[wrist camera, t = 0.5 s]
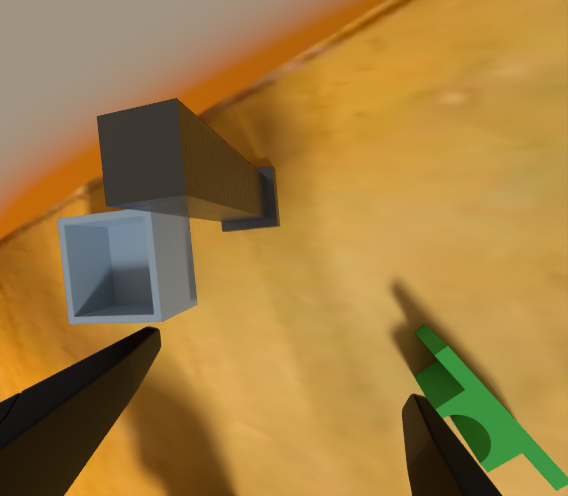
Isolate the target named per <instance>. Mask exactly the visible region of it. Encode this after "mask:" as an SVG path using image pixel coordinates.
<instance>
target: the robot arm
mask: <svg viewBox="0 0 568 496" xmlns="http://www.w3.org/2000/svg"><path fill="white" fill-rule="evenodd" d="M160 348H161V337H160V330H159V329H158V328H154V327H150V326H148V327H145V328H143V329H141V330H139V331H137V332H135V333H133V334H131V335H130V336H128V337H126V338H124V339H122V340H120V341H118V342H116V343H114V344H112V345H110V346H108V347H106V348H104V349H103V350H101V351H99V352H97V353H95V354H93V355H91V356H89V357H87V358H85V359H83V360H81V361H79V362H77V363H76V364H74V365H72V366H70V367H68V368H66V369H64V370H62V371H60V372H58V373H56V374H54V375H52V376H50V377H49V378H47V379H45V380H43V381H41V382H39V383H37V384H35V385H33V386H31V387H29V388H27V389H25V390H23V391H22V392H21V393H17V394H16V395H14V396H12V397H10V398H8V399H6V400H4V401H2V402H0V496H64V495H65V494H66V492H67V491H68V489H69V488H70V486H71V485H72V484H73V482H74V481H75V479H76V478H77V476H78V475H79V473H80V472H81V471H82V469H83V468H84V466H85V465H86V463H87V462H88V461H89V459H90V458H91V456H92V455H93V453H94V452H95V450H96V449H97V448H98V446H99V445H100V443H101V442H102V440H103V439H104V437H105V436H106V435H107V433H108V432H109V430H110V429H111V427H112V426H113V425H114V423H115V422H116V420H117V419H118V417H119V416H120V414H121V413H122V412H123V410H124V409H125V407H126V406H127V404H128V403H129V402H130V400H131V399H132V397H133V396H134V394H135V393H136V391H137V389H138V388H139V386H140V384H141V383H142V381H143V379H144V377H145V375H146V374H147V372H148V370H149V368H150V367H151V365H152V363H153V361H154V360H155V358H156V356H157V354H158V352H159V351H160ZM402 421H403V431H404V442H405V452H406V462H407V470H408V476H409V481H410V486H411V491H412V496H502V494H501V493H500V492H499V491H498V489H497V488H496V487H495V485H494V484H493V483H492V482H491V480H490V479H489V478H488V476H487V475H486V474H485V473H484V471H483V470H482V469H481V467H480V466H479V465H478V464H477V462H476V461H475V460H474V458H473V457H472V456H471V455H470V453H469V452H468V451H467V449H466V448H465V447H464V445H463V444H462V443H461V442H460V440H459V439H458V438H457V436H456V435H455V434H454V433H453V431H452V430H451V429H450V427H449V426H448V425H447V424H446V422H445V421H444V420H443V418H442V417H441V416H440V415H439V413H438V412H437V411H436V409H435V408H434V407H433V406H432V404H431V403H430V402H429V400H428V399H427V398H426V397H424V396H421V395H417V394H411V395H410V397H409V398H408V400H407V402H406V403H405V405H404V407H403V409H402Z"/></svg>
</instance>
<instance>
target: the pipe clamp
mask: <svg viewBox="0 0 568 496" xmlns="http://www.w3.org/2000/svg"><path fill="white" fill-rule="evenodd" d="M415 333H416V334H417V335H418V337H419V338H420V339H421V340H422V341H423V342H424V344H425V345H426V346H427V347H428V348H429V350H430V351H431V352H432V353H433V354H434V355H435V357H436V358H437V359H438V361H436V362H435V363H433V364H432V365H430V366H429V367H427V368H426V369H425V370H423V371H422V372H420V373H419V374H417V375H416V376H414V377H415V379H416V381H417V382H418V384H419V386H420V388H421V389H422V391H423V393H424V395H425V396H426V398H427V399H428V400H429V402H430V403H431V404H432V406H433V407H434V408H435V409H436V411H437V412H438V413H439V415H440V416H441V417H442V418H444V417H447V416H450V415H455V416H454V417H452V418H451V419H452V421H453V422H454V424H455V425H456V427H457V428H458V430H459V432H460V433H461V435H462V436H463V438H464V439H465V441H466V442H467V444H468V446H469V447H470V449H471V450H472V452H473V453H474V455H475V456H476V458H477V460H478V461H479V463H480V464H481V465H482V466H483V467H484V469H485V470H486V471H487V472H490V471H491V470H493V469H495V468H497V467H498V466H500V465H502V464H504V463H505V462H507V461H509V460H511V459H512V458H514V457H516V456H518V455H519V454H521V453H523V454H524V455H525V457H526V458H527V459H528V460H529V461H530V462H531V463H532V464H533V465H534V467H535V468H536V469H537V470H538V471H539V472H540V473H541V474H542V475H543V477H544V478H545V479H546V480H547V481H548V482H549V483H550V484H551V485H552V487H553V488H554V489H555V490H556V491H557V490H559V489H560V488H562V487H564V486H566V485H568V477H567V476H566V475H565V474H564V473H563V472H562V470H561V469H560V468H559V467H558V466H557V465H556V464H555V463H554V462H553V461H552V460H551V458H550V457H549V456H548V455H547V454H546V453H545V452H544V451H543V450H542V449H541V447H540V446H539V445H538V444H537V443H536V442H535V441H534V440H533V439H532V438H531V436H530V435H529V434H528V433H527V432H526V431H525V430H524V429H523V428H522V427H521V425H520V424H519V423H518V422H517V421H516V420H515V419H514V418H513V417H512V416H511V414H510V413H509V412H508V411H507V410H506V409H505V408H504V407H503V406H502V405H501V404H500V402H499V401H498V400H497V399H496V398H495V397H494V396H493V395H492V394H491V393H490V391H489V390H488V389H487V388H486V387H485V386H484V385H483V384H482V383H481V382H480V380H479V379H478V378H477V377H476V376H475V375H474V374H473V373H472V372H471V371H470V369H469V368H468V367H467V366H466V365H465V364H464V363H463V362H462V361H461V360H460V359H459V357H458V356H457V355H456V354H455V353H454V352H453V351H452V350H451V349H450V348H449V346H448V345H447V344H445V343H444V342H443V341H442V340H441V339H440V338H439V337H438V336H437V335H436V334H435V333H434V332H433V331H432V330H431V329H430V328H429V327H428V326H427V325H426V324H425V325H424V326H422V327H421V328H420V329H418V330H417V331H415Z"/></svg>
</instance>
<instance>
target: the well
mask: <svg viewBox="0 0 568 496" xmlns="http://www.w3.org/2000/svg"><path fill="white" fill-rule="evenodd" d="M58 228H59V237H60V246H61V255H62V264H63V273H64V282H65V291H66V300H67V309H68V318H69V324H103V323H146V322H163V321H165V320H167V319H169V318H171V317H173V316H175V315H177V314H179V313H181V312H183V311H185V310H187V309H189V308H192V307H194V306H196V305H197V297H196V287H195V277H194V266H193V256H192V246H191V236H190V225H189V217H183V216H175V215H168V214H161V213H153V212H146V211H139V210H131V209H128V210H120V211H113V212H105V213H98V214H90V215H82V216H75V217H67V218H60V219H58Z"/></svg>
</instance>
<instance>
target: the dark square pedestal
mask: <svg viewBox="0 0 568 496" xmlns="http://www.w3.org/2000/svg"><path fill="white" fill-rule="evenodd" d="M97 122H98V132H99V141H100V151H101V161H102V170H103V180H104V189H105V199H106V206H109V207H117V208H124V209H131V210H139V211H146V212H153V213H161V214H168V215H175V216H183V217H190V218H197V219H205V220H212V221H219V222H222V231H223V232H230V231H240V230H250V229H260V228H270V227H280V220H279V209H278V198H277V186H276V175H275V169H274V168H273V167H272V166H271V167H265V168H258V169H256V168H255V167H254V166H253V165H252V164H251V163H250V162H249V161H247V160H246V159H245V158H244V157H243V156H242V155H241V154H239V153H238V152H237V151H236V150H235V149H234V148H233V147H231V146H230V145H229V144H228V143H227V142H226V141H225V140H224V139H222V138H221V137H220V136H219V135H218V134H217V133H216V132H214V131H213V130H212V129H211V128H210V127H209V126H208V125H206V124H205V123H204V122H203V121H202V120H201V119H200V118H198V117H197V116H196V115H195V114H194V113H193V112H191V110H189V109H188V108H187V107H186V106H185V105H184V104H183V103H181V102H180V101H179V100H178V99H177V98H176V99H171V100H167V101H162V102H158V103H153V104H149V105H145V106H141V107H136V108H131V109H127V110H123V111H118V112H114V113H109V114H105V115H101V116H97Z"/></svg>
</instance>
